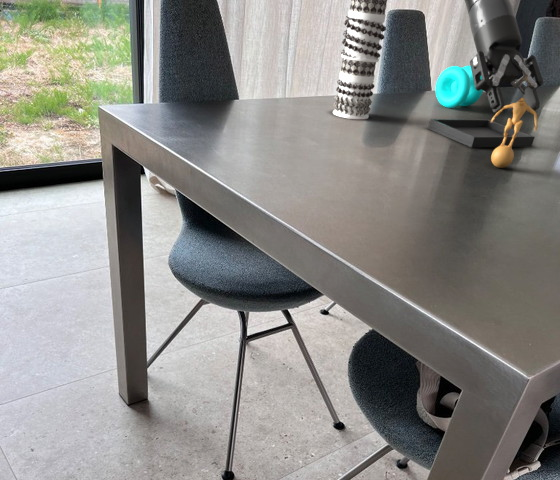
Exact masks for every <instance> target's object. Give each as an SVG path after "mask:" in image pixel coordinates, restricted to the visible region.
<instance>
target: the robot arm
mask: <svg viewBox="0 0 560 480" xmlns="http://www.w3.org/2000/svg"><path fill="white" fill-rule="evenodd" d="M464 4H465V7H466V11H467V14H468V18H469V27H470V31H471V35H472V38H473V42H474V46H475V49H476V52H477V53H476V55H474V57H472V58H471V59H470V60H469V66H471V71H472V75H473V80H474V84H475V88H476V90H478V91H480V90H483V93H484V94H485V95H486V97H487V100H488V103H489V107H490V109H491V111H492V113H497V112H499V111H500V110H501V109H502V108H503V107H504V106H505V102H504V101H505V100H504V97H503V95H502V90H501V86H499V84H500V83H507V84H510V85H511V86H512V87H513V88H515V89H518V90H519V91H520V92H521V93H522V98H524V99H525V102H526V104H527V105H529V106H530V107H531V109H533V110H534V111H535V112H536V111H537V110H538V109H539V108H540V106H541V105H540V100H539V95H538V92H537V90H538V89H539V88H540V87H541V86H543V85H544V79H543V76H542V73H541V70H540V67H539V64H538V61H537V58H536V56H535V55H534V54H531V55H530V56H529V57H525V58H524V57H523V55H522V54H521V52H520V49H521V46H522V40H523V39H522V36H521V31H520V28H519V25H518V21H517V18H516V15H515V11H514V7H513V4H512V2H511V0H464ZM521 74H522V76H521V77H520V75H521ZM481 75H482V80H481V79H480V77H481ZM519 77H520V78H519ZM524 82H525V84H526V85H527V86H526V85H525V84H524ZM526 112H527V113H528V114H531V113H530V112H529V111H526Z"/></svg>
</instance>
